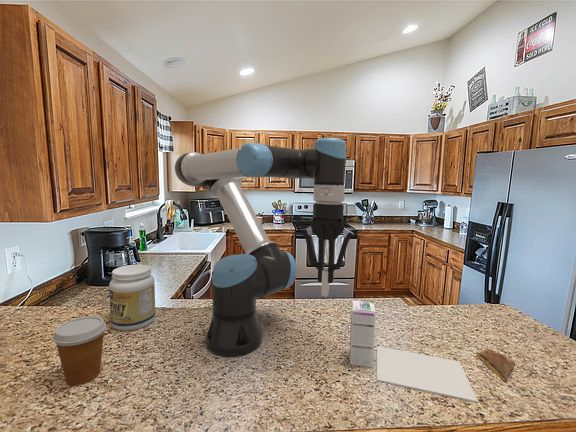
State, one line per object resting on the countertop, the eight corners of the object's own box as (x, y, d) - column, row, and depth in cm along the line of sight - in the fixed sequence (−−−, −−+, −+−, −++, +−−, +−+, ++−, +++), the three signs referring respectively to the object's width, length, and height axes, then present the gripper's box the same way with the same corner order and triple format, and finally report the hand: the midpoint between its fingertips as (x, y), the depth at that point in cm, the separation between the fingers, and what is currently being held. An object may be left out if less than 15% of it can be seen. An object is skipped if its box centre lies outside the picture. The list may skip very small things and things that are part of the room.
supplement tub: (101, 326, 85) (98, 271, 83) (136, 310, 96) (134, 261, 94) (130, 336, 81) (128, 278, 79) (164, 317, 92) (162, 266, 90)
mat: (376, 381, 65) (377, 379, 65) (376, 347, 78) (376, 346, 78) (477, 403, 59) (478, 401, 59) (459, 362, 72) (459, 361, 72)
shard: (504, 384, 66) (505, 377, 65) (467, 367, 71) (468, 361, 71) (515, 366, 73) (516, 359, 72) (481, 352, 78) (481, 345, 78)
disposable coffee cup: (67, 398, 58) (63, 342, 56) (48, 379, 63) (44, 328, 61) (116, 372, 66) (114, 322, 64) (96, 357, 71) (93, 311, 69)
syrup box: (373, 368, 69) (377, 311, 68) (348, 364, 70) (351, 308, 69) (371, 354, 75) (375, 301, 73) (348, 351, 76) (351, 299, 74)
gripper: (299, 202, 69) (296, 296, 72) (354, 204, 65) (349, 303, 68) (306, 200, 76) (303, 286, 79) (356, 202, 72) (352, 292, 75)
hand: (324, 294), depth 73 cm, fingers closed
